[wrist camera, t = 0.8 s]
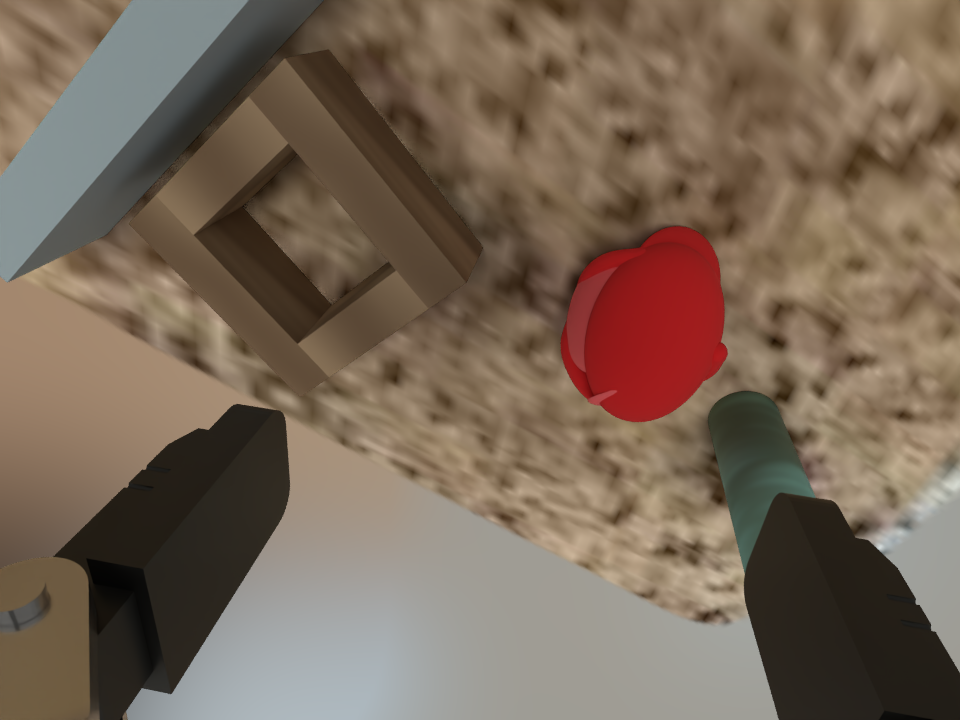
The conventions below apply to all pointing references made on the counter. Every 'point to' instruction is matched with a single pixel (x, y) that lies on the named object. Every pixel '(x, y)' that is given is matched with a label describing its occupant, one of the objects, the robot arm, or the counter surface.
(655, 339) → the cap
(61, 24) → the counter surface
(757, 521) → the dowel
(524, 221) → the counter surface
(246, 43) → the wall
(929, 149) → the counter surface
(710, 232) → the counter surface
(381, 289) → the holed block
